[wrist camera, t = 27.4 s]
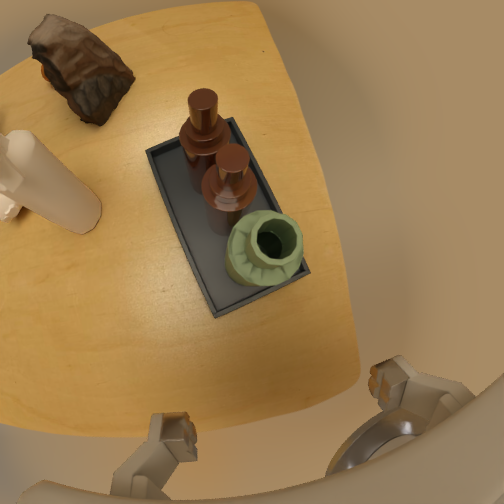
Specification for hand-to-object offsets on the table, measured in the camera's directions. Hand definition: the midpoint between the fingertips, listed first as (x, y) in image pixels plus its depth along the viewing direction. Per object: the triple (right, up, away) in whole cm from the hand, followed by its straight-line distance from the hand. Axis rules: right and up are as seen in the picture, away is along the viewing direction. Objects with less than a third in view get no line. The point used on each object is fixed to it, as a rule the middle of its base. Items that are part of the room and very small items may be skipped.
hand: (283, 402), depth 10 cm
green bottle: (-2, +5, +25) cm, 26 cm away
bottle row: (-6, +13, +26) cm, 30 cm away
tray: (-5, +12, +26) cm, 29 cm away
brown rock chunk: (-27, +33, +27) cm, 51 cm away
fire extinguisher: (-27, +13, +24) cm, 38 cm away
